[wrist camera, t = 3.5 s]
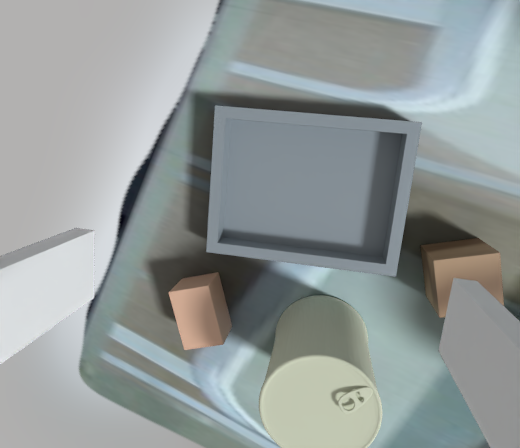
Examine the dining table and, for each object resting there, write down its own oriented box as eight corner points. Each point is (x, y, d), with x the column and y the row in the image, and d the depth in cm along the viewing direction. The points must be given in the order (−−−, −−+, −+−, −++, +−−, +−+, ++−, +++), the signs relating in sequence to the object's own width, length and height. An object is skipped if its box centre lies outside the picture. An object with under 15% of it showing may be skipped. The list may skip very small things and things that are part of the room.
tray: (214, 243, 41) (206, 252, 39) (223, 107, 39) (215, 105, 36) (390, 266, 39) (395, 276, 36) (414, 123, 36) (421, 122, 33)
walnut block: (420, 245, 38) (433, 260, 34) (477, 237, 38) (500, 252, 33) (425, 295, 39) (439, 317, 35) (482, 289, 38) (504, 311, 34)
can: (384, 357, 41) (407, 443, 30) (303, 391, 43) (295, 485, 32) (339, 279, 40) (345, 337, 29) (259, 318, 42) (234, 387, 31)
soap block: (182, 278, 43) (168, 292, 39) (218, 271, 42) (208, 285, 38) (196, 330, 44) (184, 349, 40) (232, 325, 43) (223, 344, 39)
